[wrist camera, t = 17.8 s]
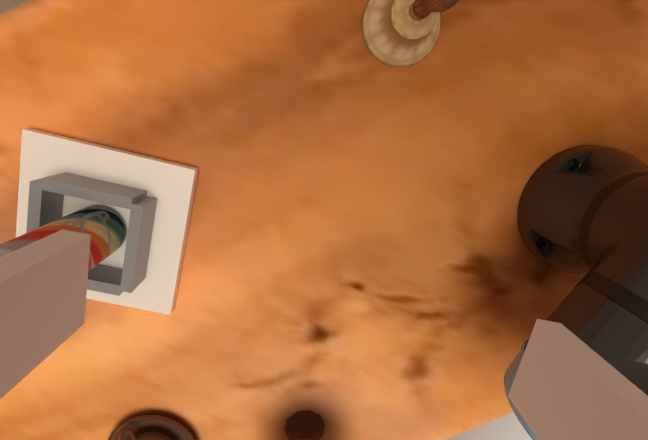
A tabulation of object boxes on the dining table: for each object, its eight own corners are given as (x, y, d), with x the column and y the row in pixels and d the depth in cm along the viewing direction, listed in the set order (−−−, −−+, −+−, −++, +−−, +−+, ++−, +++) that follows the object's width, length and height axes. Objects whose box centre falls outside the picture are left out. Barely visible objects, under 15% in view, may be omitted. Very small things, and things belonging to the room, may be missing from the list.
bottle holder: (198, 168, 45) (184, 175, 40) (174, 308, 50) (158, 332, 44) (31, 128, 43) (-7, 131, 38) (21, 278, 48) (-14, 299, 42)
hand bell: (440, -22, 41) (521, -100, 26) (439, 64, 44) (513, 39, 28) (360, -17, 41) (394, -93, 26) (363, 69, 43) (396, 46, 28)
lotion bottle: (135, 217, 45) (8, 298, 26) (117, 260, 46) (-17, 367, 27) (85, 195, 44) (-86, 260, 25) (68, 239, 45) (-108, 334, 26)
